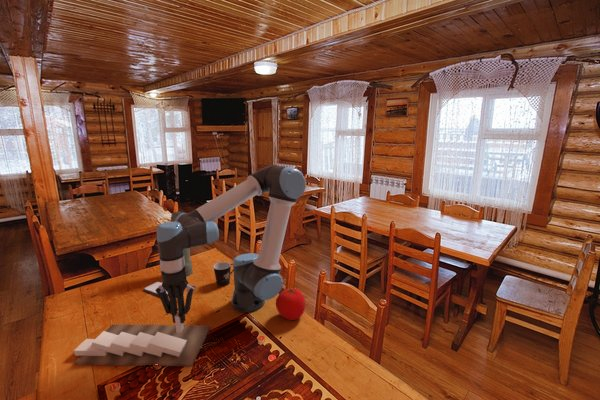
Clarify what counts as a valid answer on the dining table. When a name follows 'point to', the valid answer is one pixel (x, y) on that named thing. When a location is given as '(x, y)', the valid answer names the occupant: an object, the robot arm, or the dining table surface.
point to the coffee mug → (222, 273)
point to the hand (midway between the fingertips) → (180, 330)
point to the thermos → (186, 251)
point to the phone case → (153, 288)
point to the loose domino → (167, 344)
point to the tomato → (290, 304)
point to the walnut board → (186, 358)
